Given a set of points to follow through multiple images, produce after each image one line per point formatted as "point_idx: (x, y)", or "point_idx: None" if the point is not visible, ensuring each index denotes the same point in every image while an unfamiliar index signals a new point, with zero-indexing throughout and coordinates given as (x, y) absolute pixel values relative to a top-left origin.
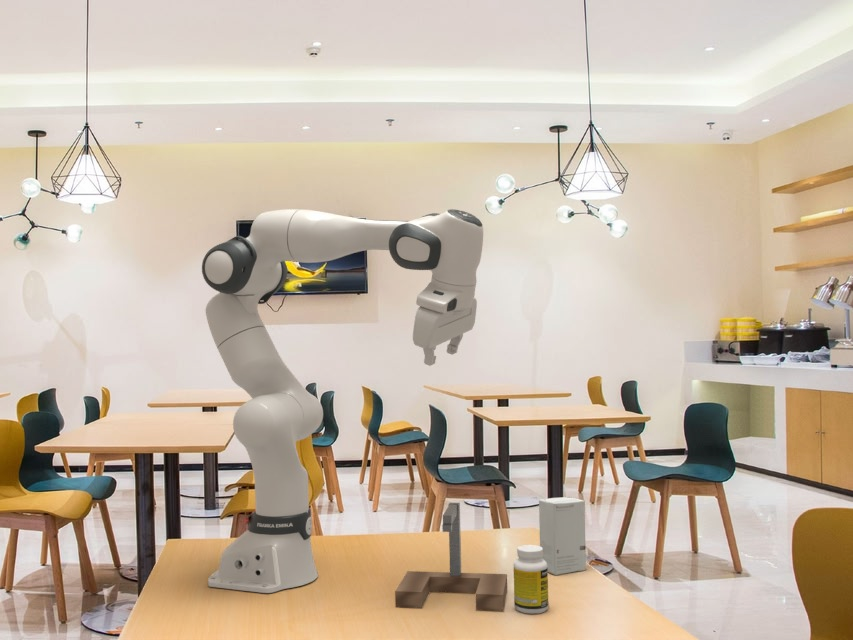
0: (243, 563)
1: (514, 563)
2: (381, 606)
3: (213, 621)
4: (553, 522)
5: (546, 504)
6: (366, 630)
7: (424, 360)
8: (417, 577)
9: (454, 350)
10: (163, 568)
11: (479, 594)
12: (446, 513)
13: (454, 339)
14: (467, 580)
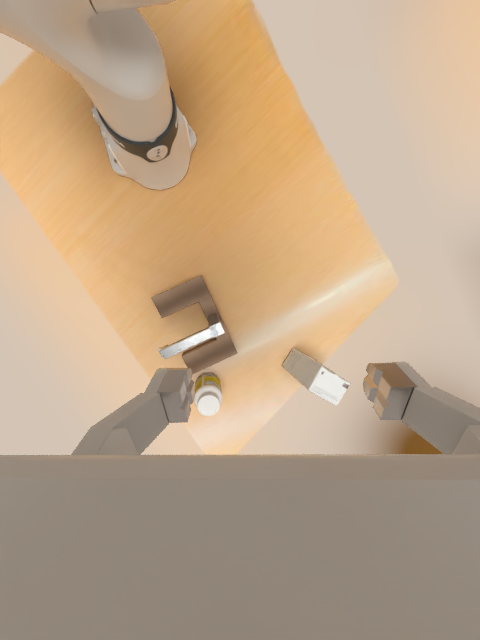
0: (97, 121)
1: (199, 389)
2: (150, 285)
3: (34, 176)
4: (299, 381)
5: (313, 377)
6: (102, 306)
7: (154, 375)
8: (191, 293)
9: (373, 405)
10: None
11: (183, 359)
12: (170, 349)
13: (444, 425)
14: None
